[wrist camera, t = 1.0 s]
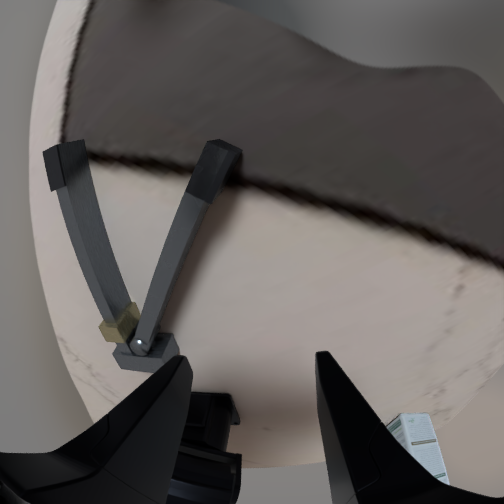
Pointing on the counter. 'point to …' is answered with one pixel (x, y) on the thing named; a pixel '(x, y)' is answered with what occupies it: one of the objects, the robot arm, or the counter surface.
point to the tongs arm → (184, 235)
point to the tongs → (100, 258)
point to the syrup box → (420, 442)
